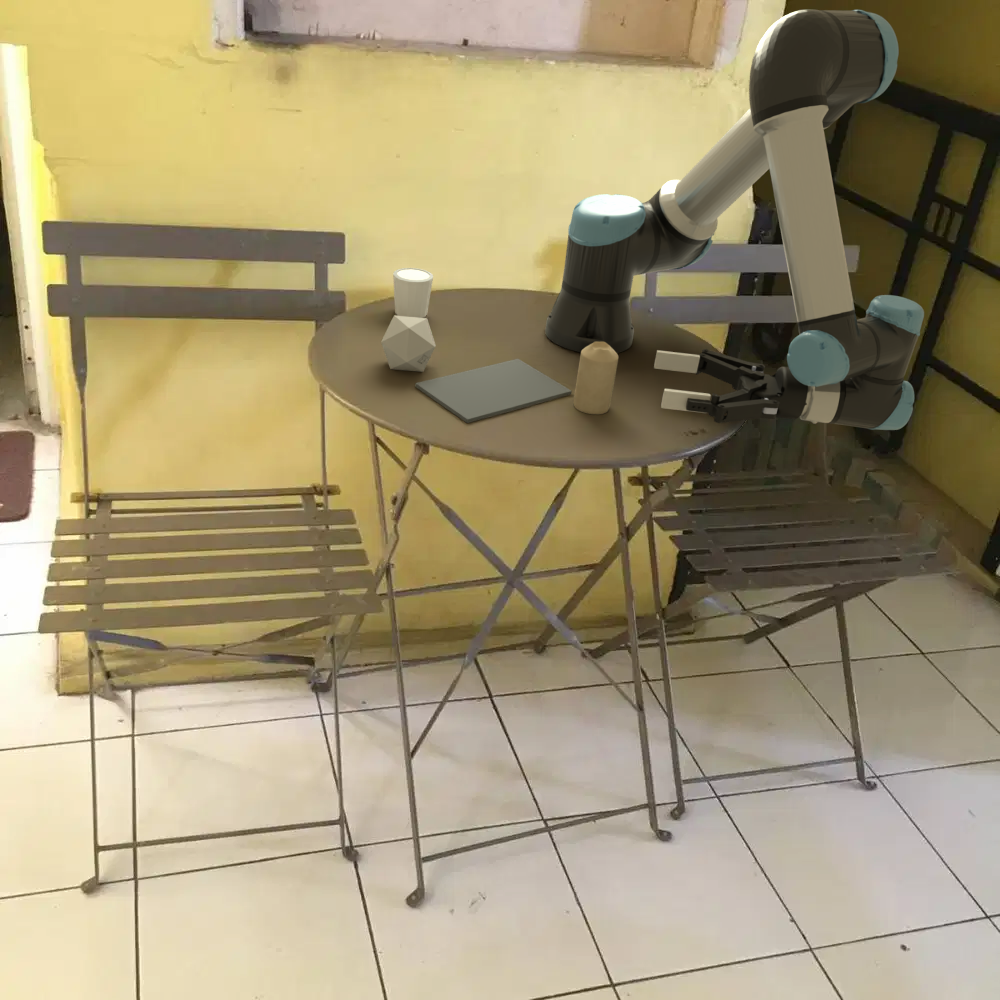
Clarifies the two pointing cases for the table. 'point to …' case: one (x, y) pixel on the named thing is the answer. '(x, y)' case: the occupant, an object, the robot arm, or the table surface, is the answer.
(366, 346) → the table surface
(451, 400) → the mat
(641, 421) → the table surface
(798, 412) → the robot arm
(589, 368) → the candle
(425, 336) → the die
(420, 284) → the shot glass
